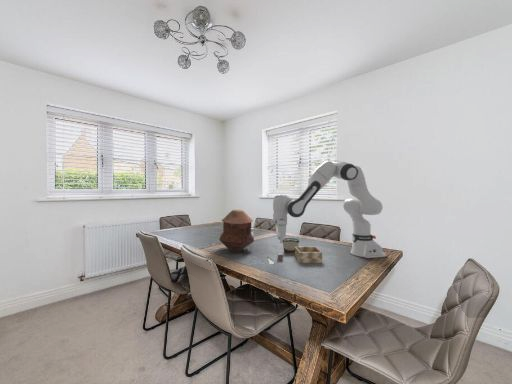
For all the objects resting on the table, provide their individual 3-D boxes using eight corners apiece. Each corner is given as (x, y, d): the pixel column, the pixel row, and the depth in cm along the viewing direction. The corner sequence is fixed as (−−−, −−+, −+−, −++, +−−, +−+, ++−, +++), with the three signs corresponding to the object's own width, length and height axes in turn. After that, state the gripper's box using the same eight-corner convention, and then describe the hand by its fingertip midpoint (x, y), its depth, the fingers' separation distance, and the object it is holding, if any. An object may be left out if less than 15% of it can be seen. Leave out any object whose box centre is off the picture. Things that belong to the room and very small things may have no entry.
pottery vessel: (222, 245, 187) (222, 208, 186) (254, 246, 186) (254, 208, 185) (216, 255, 161) (215, 211, 160) (252, 255, 160) (252, 212, 159)
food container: (298, 251, 170) (298, 237, 170) (299, 253, 164) (299, 239, 164) (281, 251, 171) (281, 237, 171) (281, 253, 165) (282, 239, 165)
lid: (289, 257, 157) (289, 250, 157) (293, 265, 142) (294, 257, 142) (267, 258, 156) (267, 251, 156) (269, 265, 142) (269, 257, 141)
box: (315, 256, 157) (315, 246, 157) (322, 263, 143) (322, 252, 143) (294, 257, 156) (295, 246, 156) (299, 263, 142) (299, 252, 142)
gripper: (273, 217, 159) (273, 237, 160) (277, 222, 139) (277, 245, 139) (282, 217, 159) (283, 237, 160) (287, 222, 139) (287, 245, 139)
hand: (280, 241), depth 149 cm, fingers open, 8 cm apart
